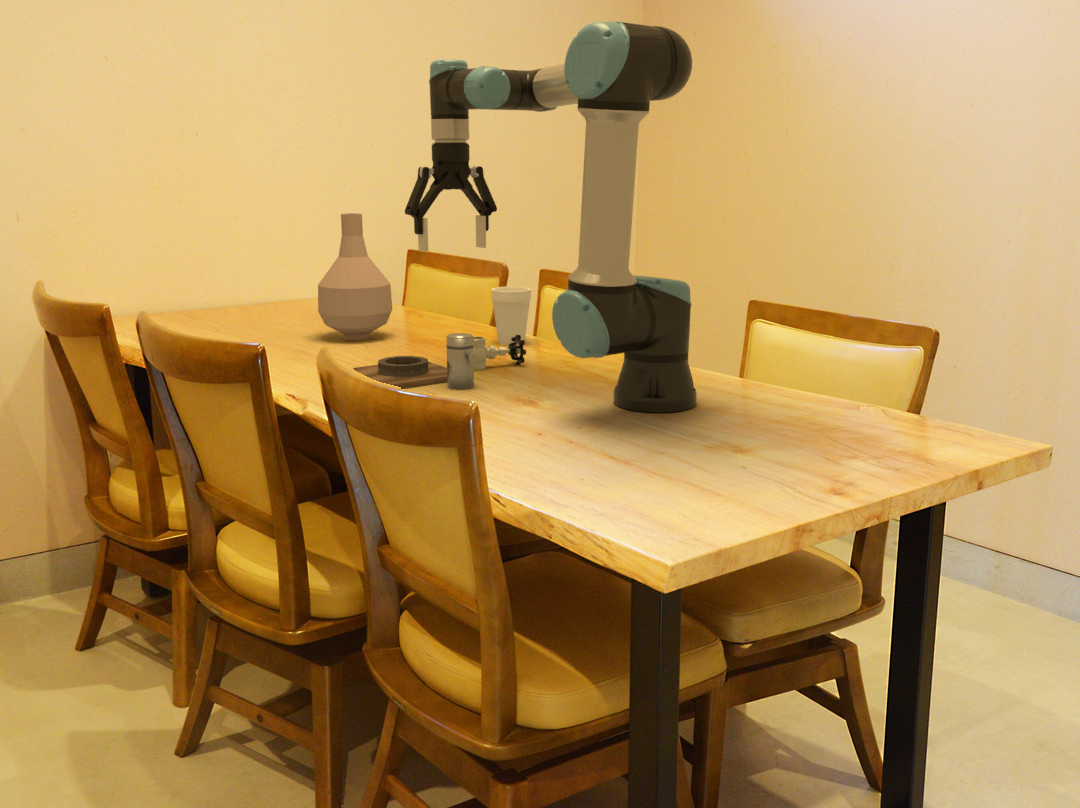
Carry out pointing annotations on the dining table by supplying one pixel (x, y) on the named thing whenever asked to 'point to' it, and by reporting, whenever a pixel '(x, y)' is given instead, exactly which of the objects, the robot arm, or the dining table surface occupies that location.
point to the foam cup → (511, 312)
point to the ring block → (405, 371)
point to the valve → (497, 351)
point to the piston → (460, 361)
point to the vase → (354, 287)
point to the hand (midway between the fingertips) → (452, 249)
